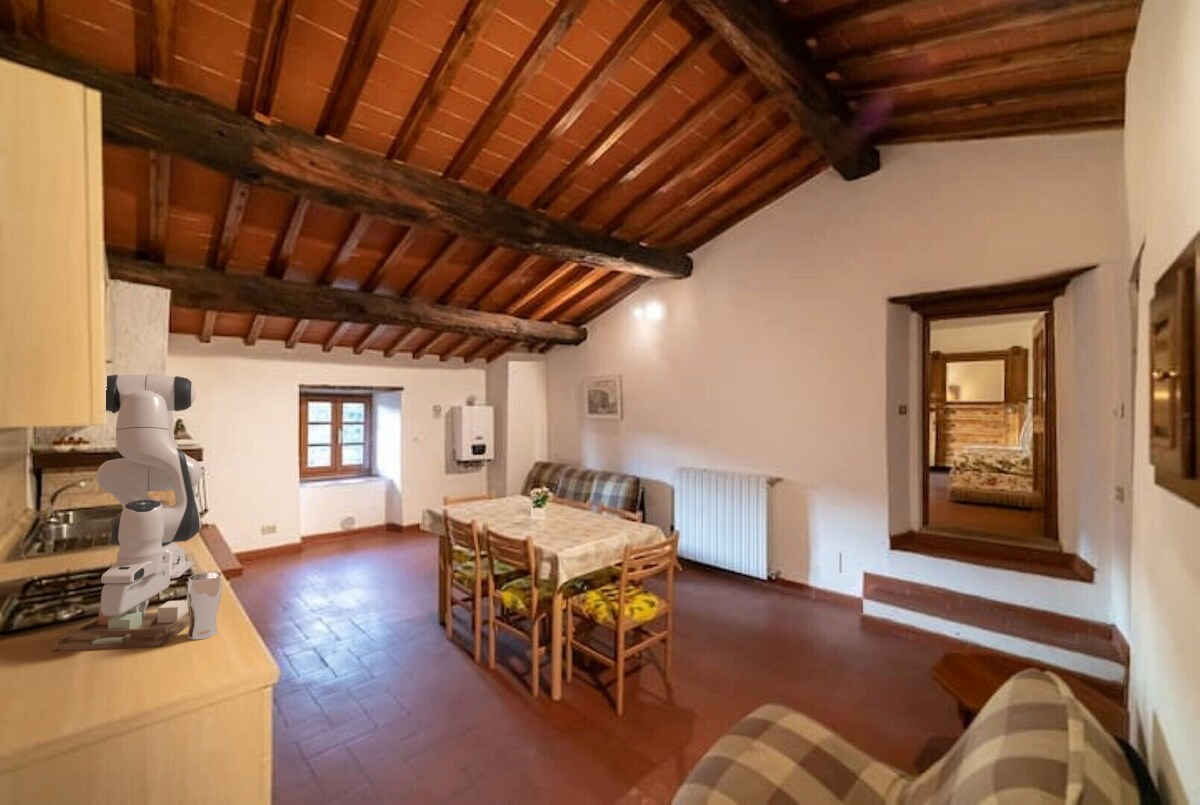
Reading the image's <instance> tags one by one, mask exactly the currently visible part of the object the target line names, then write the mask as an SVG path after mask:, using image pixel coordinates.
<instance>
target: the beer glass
mask: <svg viewBox="0 0 1200 805" xmlns="http://www.w3.org/2000/svg"><path fill="white" fill-rule="evenodd" d="M222 585H223V584H222V572H220V571H204V572H198V573H195V574H192V575H190V576H189V577H188V585H187V593H186V601H187V605H188V610H187V612H189V617H190V625H189V626H188V627H189V628H188V632H187V635H186V638H187V640H190V641H191V640H192V641H196V640H197V641H198V640H205V639H209V638H212V637H213V636H215V635H216V634H217V633H218V628H217V626H218V625H217V614H218V610H219V606H220V603H221V602H220V601H221V598H222V587H223V586H222Z"/></svg>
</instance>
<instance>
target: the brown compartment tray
mask: <svg viewBox="0 0 1200 805" xmlns="http://www.w3.org/2000/svg"><path fill="white" fill-rule="evenodd" d="M157 617H158V612H145V616H144V617H143V618H142V625H141V626H140V627H138V628H136V629H110V630H108V625H98V621H99V616H98V617H96V618H94V619H93V620H91V621H89V622H88V623H85V624H83V625H82V626H80V627H78V628H77V629H75V630H66V631H65V632H64V635H63V636H61V637H59V638H58V640H57V642H56V643H54V644H52V645H51V649H50V650H51V652H55V651H54V650H60V651H79V650H80V651H82V650H86V651H87V650H110V649H129V648H130V649H137V648H161V647H162V646H163V645H165V644H166V643H168V642H169V641H170V640H171V639H173V638H174V637H176V636H177V635H178V634H179V633H181V632H182V631H183V630H185V629H186V628H187V627H189V626H190V617H189V611H187V614H185V615H184V616H182V617H181V618H180V619H178V620H177V621H175V622H174V623H157Z"/></svg>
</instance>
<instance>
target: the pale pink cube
mask: <svg viewBox="0 0 1200 805" xmlns="http://www.w3.org/2000/svg"><path fill="white" fill-rule="evenodd" d="M187 612H188V605H187V600H168V601H166V602H164V604H161V605H160V606H159V607H157V613H158V617H157V623H174V622H175V621H177V620H178V619H180V618H181V617H182V616H184V615H185V614H187Z"/></svg>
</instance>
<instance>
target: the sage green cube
mask: <svg viewBox="0 0 1200 805" xmlns="http://www.w3.org/2000/svg"><path fill="white" fill-rule="evenodd" d="M141 625H142V612H125V613H123V614H121V615H119V616H115V617H113V618H111V619H109V620H108V630H110V629H136V628H138V627H140V626H141Z"/></svg>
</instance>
